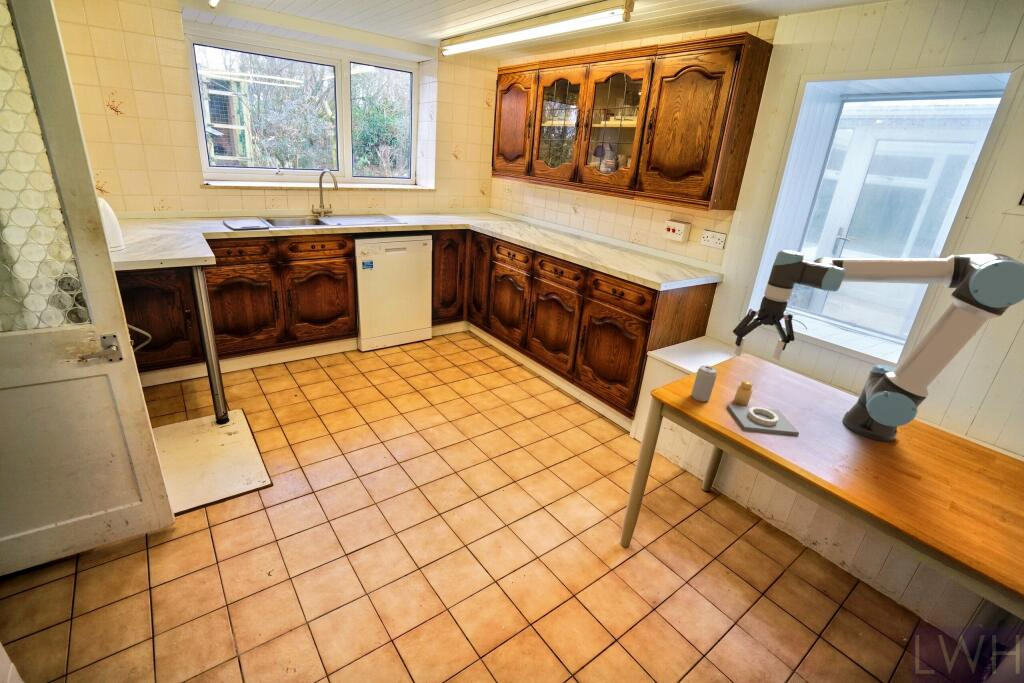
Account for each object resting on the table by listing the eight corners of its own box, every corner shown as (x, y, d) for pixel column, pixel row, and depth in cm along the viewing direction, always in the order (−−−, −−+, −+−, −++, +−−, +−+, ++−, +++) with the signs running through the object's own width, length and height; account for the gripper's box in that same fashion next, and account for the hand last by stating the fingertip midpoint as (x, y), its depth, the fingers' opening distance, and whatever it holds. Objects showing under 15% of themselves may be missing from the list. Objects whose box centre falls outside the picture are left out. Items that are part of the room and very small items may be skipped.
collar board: (777, 412, 168) (780, 405, 167) (798, 435, 155) (800, 428, 154) (727, 407, 168) (729, 400, 167) (743, 429, 155) (746, 422, 154)
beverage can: (710, 397, 173) (719, 368, 169) (706, 404, 168) (716, 374, 164) (693, 391, 176) (701, 362, 172) (688, 398, 171) (697, 368, 167)
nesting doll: (744, 399, 175) (751, 380, 172) (750, 406, 170) (756, 386, 167) (731, 398, 175) (737, 379, 172) (736, 405, 170) (743, 385, 167)
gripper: (806, 298, 160) (786, 355, 168) (733, 290, 159) (716, 348, 168) (819, 305, 153) (797, 364, 162) (743, 297, 153) (725, 357, 161)
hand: (756, 356), depth 165 cm, fingers open, 13 cm apart
